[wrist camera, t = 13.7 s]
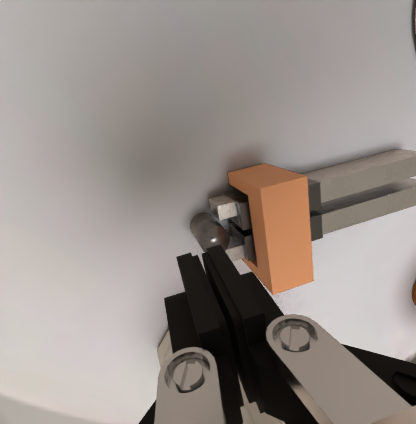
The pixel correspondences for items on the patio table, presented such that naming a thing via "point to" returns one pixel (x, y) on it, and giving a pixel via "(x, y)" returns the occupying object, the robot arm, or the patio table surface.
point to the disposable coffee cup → (414, 293)
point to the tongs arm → (337, 214)
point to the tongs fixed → (317, 192)
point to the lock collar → (278, 225)
